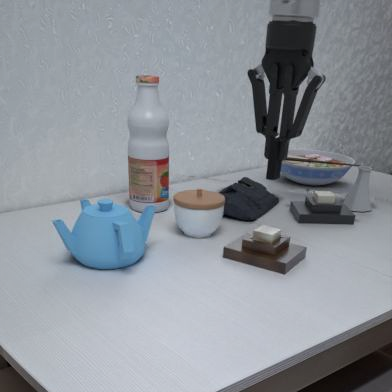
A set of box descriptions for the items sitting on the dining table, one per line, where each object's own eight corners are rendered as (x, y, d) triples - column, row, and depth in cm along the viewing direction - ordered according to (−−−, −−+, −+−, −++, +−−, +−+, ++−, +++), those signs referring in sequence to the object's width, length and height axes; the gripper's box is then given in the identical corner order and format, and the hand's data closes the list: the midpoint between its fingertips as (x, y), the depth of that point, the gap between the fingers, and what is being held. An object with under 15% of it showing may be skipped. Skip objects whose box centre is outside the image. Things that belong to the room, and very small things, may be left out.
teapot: (51, 267, 90) (44, 208, 84) (85, 238, 103) (80, 185, 97) (133, 278, 88) (131, 218, 82) (157, 247, 100) (157, 193, 94)
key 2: (329, 199, 120) (330, 191, 119) (333, 205, 117) (335, 196, 116) (312, 199, 120) (314, 190, 119) (317, 204, 117) (318, 195, 115)
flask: (363, 203, 131) (372, 163, 126) (376, 212, 125) (386, 171, 120) (337, 204, 130) (345, 163, 124) (349, 213, 124) (358, 171, 118)
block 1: (305, 257, 99) (308, 238, 97) (284, 274, 92) (287, 254, 89) (246, 242, 104) (248, 223, 102) (222, 257, 97) (224, 237, 95)
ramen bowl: (352, 178, 152) (358, 150, 148) (354, 199, 134) (361, 168, 129) (270, 170, 157) (273, 143, 152) (261, 190, 138) (264, 159, 133)
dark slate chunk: (192, 212, 119) (192, 192, 117) (227, 191, 136) (229, 173, 133) (252, 224, 114) (255, 203, 111) (282, 200, 131) (284, 181, 128)
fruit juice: (126, 202, 124) (122, 73, 109) (164, 200, 126) (164, 74, 111) (133, 214, 116) (128, 77, 101) (172, 212, 119) (174, 78, 103)
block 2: (341, 211, 125) (344, 194, 123) (353, 224, 117) (357, 207, 114) (289, 209, 124) (291, 193, 122) (298, 223, 116) (301, 206, 114)
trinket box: (225, 242, 104) (229, 196, 99) (174, 241, 103) (174, 195, 98) (219, 224, 113) (222, 182, 108) (172, 224, 112) (172, 181, 107)
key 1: (280, 239, 97) (281, 229, 95) (271, 245, 94) (272, 235, 93) (261, 234, 98) (262, 224, 97) (252, 240, 95) (253, 230, 94)
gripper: (243, 17, 77) (230, 175, 90) (324, 21, 71) (298, 189, 84) (264, 19, 82) (249, 168, 95) (341, 22, 77) (315, 180, 90)
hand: (272, 178), depth 90 cm, fingers closed
